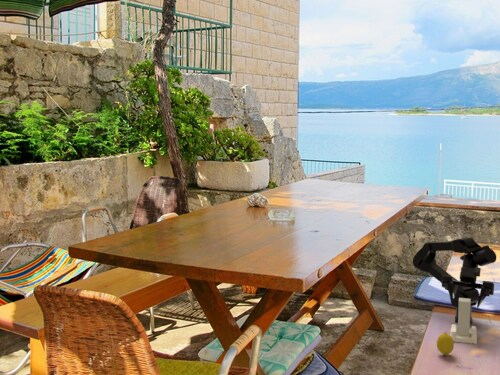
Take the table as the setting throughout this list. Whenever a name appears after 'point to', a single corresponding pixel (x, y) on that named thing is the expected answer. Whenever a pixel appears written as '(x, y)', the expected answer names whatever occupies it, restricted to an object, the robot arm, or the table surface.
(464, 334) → the clay bar
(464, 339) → the rack
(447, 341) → the lemon
